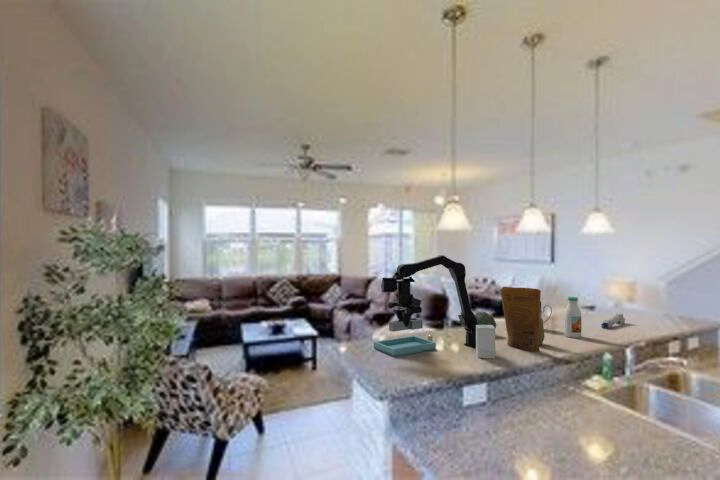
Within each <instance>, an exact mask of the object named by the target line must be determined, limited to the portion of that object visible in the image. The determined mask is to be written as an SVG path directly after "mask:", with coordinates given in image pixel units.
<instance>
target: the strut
mask: <svg viewBox="0 0 720 480" xmlns="http://www.w3.org/2000/svg"><path fill="white" fill-rule="evenodd" d="M423 325H424V324H423V319H421V318H417V317H411V319H410V322H409V325H408V327H406V326H405V323H404V320H390V321H388V331H389V332H392V333H393V332H401V331H406V330H421V329H423V328H424V327H423Z"/></svg>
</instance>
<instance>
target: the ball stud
mask: <svg viewBox="0 0 720 480" xmlns="http://www.w3.org/2000/svg"><path fill="white" fill-rule="evenodd" d="M427 340H429V341H432V342H433V336H432V335H431V334H429V335H428V336H427Z"/></svg>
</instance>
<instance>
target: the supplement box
mask: <svg viewBox="0 0 720 480" xmlns="http://www.w3.org/2000/svg"><path fill="white" fill-rule="evenodd" d="M475 354H476V357H477V358H479V359H481V358H482V359H486V358H487V359H496V329H495V328H494V326H493V325H476V347H475Z"/></svg>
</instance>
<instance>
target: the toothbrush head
mask: <svg viewBox="0 0 720 480" xmlns="http://www.w3.org/2000/svg"><path fill="white" fill-rule="evenodd" d="M625 321H626V318H625V317H624V314H623V313H622V312H616V313H615V315H614V316H612V317H610V318H608V319H607V320H603V322H602V323H601V326H600V327H601V328H602V330H609V329H611V328H612V327H613V325H615V324H617V325H625V323H626V322H625Z"/></svg>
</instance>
